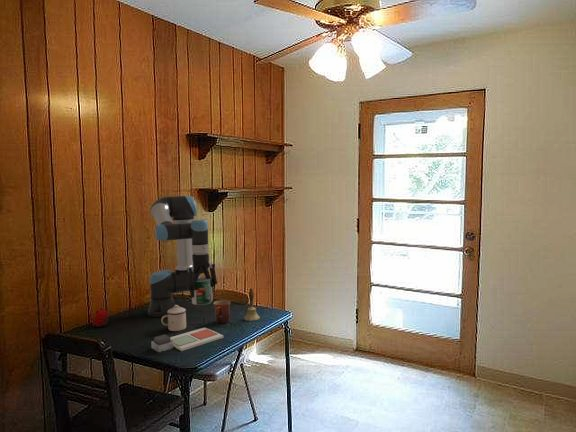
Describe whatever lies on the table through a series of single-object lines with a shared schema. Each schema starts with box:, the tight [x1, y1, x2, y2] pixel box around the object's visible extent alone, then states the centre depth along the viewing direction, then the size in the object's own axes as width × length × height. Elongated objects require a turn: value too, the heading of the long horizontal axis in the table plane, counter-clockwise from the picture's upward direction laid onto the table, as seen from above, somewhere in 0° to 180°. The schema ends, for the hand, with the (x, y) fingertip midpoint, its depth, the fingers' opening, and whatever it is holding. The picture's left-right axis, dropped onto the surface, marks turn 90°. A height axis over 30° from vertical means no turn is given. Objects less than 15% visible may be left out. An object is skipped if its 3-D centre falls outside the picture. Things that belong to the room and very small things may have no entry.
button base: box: [150, 340, 175, 353], centre depth 180 cm, size 7×7×3 cm
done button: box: [153, 334, 171, 345], centre depth 180 cm, size 5×5×3 cm
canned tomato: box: [194, 276, 212, 306], centre depth 191 cm, size 8×8×11 cm
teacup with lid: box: [160, 304, 187, 332], centre depth 204 cm, size 12×9×12 cm
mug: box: [213, 299, 231, 325], centre depth 211 cm, size 12×9×10 cm
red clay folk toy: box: [92, 297, 109, 328], centre depth 211 cm, size 8×7×15 cm
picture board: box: [169, 326, 224, 352], centre depth 189 cm, size 16×22×1 cm
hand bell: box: [243, 288, 261, 322], centre depth 217 cm, size 8×8×16 cm
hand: (202, 302), depth 192 cm, fingers closed on canned tomato, 8 cm apart
